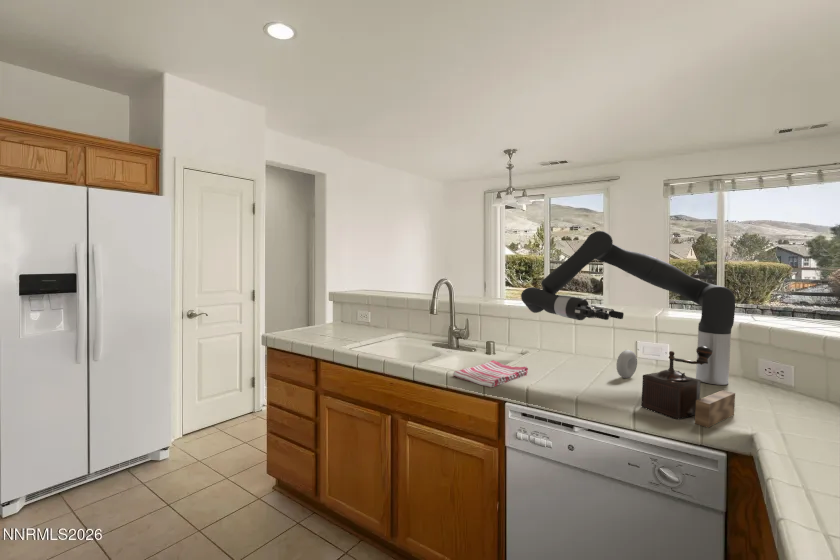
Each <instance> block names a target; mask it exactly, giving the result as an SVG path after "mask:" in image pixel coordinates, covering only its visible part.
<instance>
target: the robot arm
mask: <svg viewBox="0 0 840 560" xmlns="http://www.w3.org/2000/svg"><path fill="white" fill-rule="evenodd" d="M613 242H614V241H613V238H612V236H611V234H610V233H609V232H606V231H603V230H597V231H594V232H591V233H590V234H589V235H588V236H587V238H586V240H585V241H584V242H583V243H582V244H581V245H580V246H579V248H578V249H577V250H576V251H575V252H574V253H573V254H571V255H570V257H568V258H567V259H566V260H565V261H564V262H563V263H561V264H560V265H559V266H558V267H556V268H555V269H554V270H553V271H551V272H550V273H549V274H548V275H547V276H545V277H544V278H543V279H542V280H541V283H540V284H541V287H542V288H538V287H534V286H533V287H527V288H525V289H523V291H522V292H521V295H520V298H521V301H522V302H523V303H524V305H525V306H526V308H527V309H528V310H529V312H532V313H534V314H536V313H541V312H543V311H545V312H547V313H549V314H553V315H556V316H560V317H563V318H568V319H572V320H576V321H583V320H585V319H586V318H588V319H601V320H605V321H608V320H609V319H610V318H612V319H613V318H615V319H618V320H623V319H624V312H621V311H616V310H615V309H613V308H607V307H603V306H597V305H595V304H594V305H593V304H589V302H588V300H587V299H585V298H581V297H575V296H569V295H560V294H557V293H558V292H559V291H561V290H563V288H564V287H566V285H568V284H569V283H570V282H571V281H572V280H573V279H574V278H575V277H576V276H577V275H578V274H579V273H580V272H581V271H582V270H583V269H584V268H585V267H587V266H588V264H590V263H592V262H593V261H594V260H596V261H600V262H602V263H605V264H609V265H611V266H613V267H616V268H618V269H620V270H622V271H624V272H626V273H627V274H629V275H631V276H634V277H635V278H638V279H640V280H641V281H644V282H646V283H648V284H650V285H652V286H655V287H657V288H660V289H662V290H665V291H669V292H672V293H674V294H677V295H680V296H682V297H684V298H686V299H688V300H690V301H692V302H693V303H695V304H696V305H698V306H700V307H701V317H700V321H699V323H698V326H697V327H698V328H697V329H698V330H697V345H696V346H697V347H696V349H697V348H698V347H700V346H705V347H708V348H710V349H711V350H712V352H713V354H712V356H710V357H709V358H708V364H705V363H704V364H702V365H701V364H696V371H695V379H699V380H700V381H701V382H702V383H705V384H706V383H707V384H711V385H718V386H720V385H721V386H726V385H729V379H730V378H729V377H730V376H729V375H730V374H729V373H730V362H731V361H730V358H731V344H732V343H731V338H732V328H733V326H734V322H735V314H736V313H735V312H736V297H735V294H734V292H733V291H732V290H731V289H729V288H728V287H726V286H724V285H723V286H722V285H717V284H712V283H710V282H706V281H703V280H700V279H698V278H695V277H693V276H691V275H689V274H687V273H686V272H684V271H683V270H681V269H680V268H678V267H676V266H674V265H673V264H671V263H669V262H667V261H665V260H662V259H660V258H658V257H655V256H653V255H650V254H646V253H641V252H638V251H630V250H628V249H625V248H622V247H621V246H618V245H616V244H614V243H613ZM698 357H699V356H698V354H697V353H696V360H697V359H698ZM701 382H700V383H701Z"/></svg>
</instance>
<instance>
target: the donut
mask: <svg viewBox="0 0 840 560" xmlns="http://www.w3.org/2000/svg"><path fill="white" fill-rule="evenodd" d="M616 360H617V361H616V372H617V373H618V375H619V377H621V378H623V379H629V378H631V377H633V375H634V374H635V372H636V371H637V367H638V356H637V355H636V353H635V352H634V351H632V349H625V350H623V351H621V352H620V353H619V355H618V356H617V359H616Z"/></svg>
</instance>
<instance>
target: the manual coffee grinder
mask: <svg viewBox="0 0 840 560" xmlns="http://www.w3.org/2000/svg"><path fill="white" fill-rule="evenodd" d="M695 351H696V355H697V354H698V356H699V357H698V359H697V358H696V360H695V361H694V360H689V359H684V358H677V357H675V356H674V355H675V352H674V350H671V351H669V352H668V354H669V356H668V359H669V368H668V369H663V370H660V371H659V372H658V371H657V372H652V373H645V374H643V375H642V382H641V383H642V385H641V386H642V387H641V388H642V389H641V405H640V406H642V407H641V408H643V407H644V408H643V409H645V408H647V409H646V410H648V409H649V410H648V411H651V410H652V411H651V412H654V411H655V412H654V413H656V414H660V415H663V416H665V417H669V418H671V419H675V420H681V419H685V418H690V417H692V415H693V416H695V410H696V400H698V399H701V398H700V397H701V396H700V395H701V381H700V380H699V379H696V377H695V378H694V377H691V376H687V375H685V374H686V372H683V373H682V372H680V370H675V369H674V363H675V362H680V363H685V364H689V365H697V364H701V365H702V364H704V363H705V364H708V358H709V357H710V356H712V354H713V352H712V350H711V349H710V348H708V347H705V346H700V347H698V348H697V347H696V350H695Z"/></svg>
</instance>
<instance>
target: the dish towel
mask: <svg viewBox="0 0 840 560" xmlns="http://www.w3.org/2000/svg"><path fill="white" fill-rule="evenodd" d="M528 370H529V368H528V367H527V366H511V365H506V364H503V363H500V362H499V361H496V360H494V359H493V360H491V361H488V362H484V363H481V364H478V365H474V366H472V367H464V368H462V369H459V370H455V371H453V373H452V376H454V377H455V378H458V379H461V380H463V381H467V382H470V383H474V384H477V385H479V386H483V387H487V388H494V387H497V386H499V385H503V384H505V383H508V382H511V381H514V380H516V379H520V378H523V377H525V376H527V375H528Z"/></svg>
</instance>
